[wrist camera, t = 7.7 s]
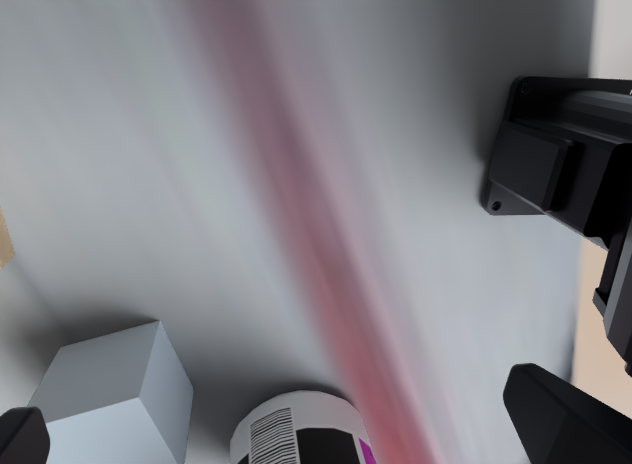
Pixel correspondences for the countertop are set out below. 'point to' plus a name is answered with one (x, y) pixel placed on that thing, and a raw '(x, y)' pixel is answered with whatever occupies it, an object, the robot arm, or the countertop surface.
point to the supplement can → (302, 432)
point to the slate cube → (117, 400)
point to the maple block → (5, 243)
